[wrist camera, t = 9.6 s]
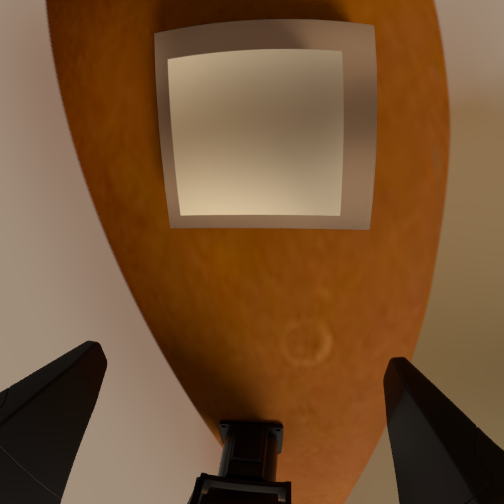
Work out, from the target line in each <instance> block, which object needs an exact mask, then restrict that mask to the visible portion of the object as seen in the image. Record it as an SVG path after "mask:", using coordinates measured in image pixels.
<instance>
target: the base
mask: <svg viewBox="0 0 504 504" xmlns="http://www.w3.org/2000/svg"><path fill="white" fill-rule="evenodd" d="M154 39H155V72H156V91H157V107H158V121H159V133H160V144H161V155H162V164H163V173H164V182H165V190H166V198H167V206H168V214H169V221H170V228H310V229H360V230H370V221H371V211H372V201H373V190H374V176H375V160H376V138H377V68H376V47H375V32H374V25H368V24H360V23H351V22H341V21H329V20H311V19H262V20H244V21H231V22H221V23H212V24H205V25H197V26H191V27H185V28H179V29H173V30H168V31H163V32H159V33H154ZM260 49H314V50H333V51H342V59H343V93H344V138H343V173H342V194H341V211H340V216H323V215H186V216H181V215H180V207H179V199H178V190H177V181H176V171H175V161H174V150H173V139H172V127H171V113H170V98H169V80H168V59H173V58H179V57H185V56H192V55H200V54H208V53H217V52H228V51H241V50H260Z"/></svg>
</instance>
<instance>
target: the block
mask: <svg viewBox="0 0 504 504" xmlns="http://www.w3.org/2000/svg"><path fill="white" fill-rule="evenodd" d="M168 80H169V98H170V113H171V127H172V139H173V150H174V161H175V171H176V181H177V190H178V199H179V207H180V215H181V216H186V215H323V216H340V211H341V194H342V173H343V138H344V93H343V59H342V51H333V50H314V49H260V50H241V51H228V52H217V53H208V54H200V55H192V56H185V57H179V58H173V59H168Z"/></svg>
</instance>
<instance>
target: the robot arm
mask: <svg viewBox="0 0 504 504" xmlns="http://www.w3.org/2000/svg"><path fill="white" fill-rule="evenodd" d="M106 368H107V359H106V357H105V354H104V352H103V350H102V347H101V345H100V344H99V343H98V342H94V341H86V342H84V343H83V344H81V345H79V346H78V347H76V348H74V349H73V350H71V351H69V352H68V353H66V354H64V355H62V356H61V357H59V358H57V359H56V360H54V361H52V362H51V363H49V364H47V365H46V366H44V367H42V368H40V369H39V370H37V371H35V372H34V373H32V374H30V375H29V376H27V377H25V378H24V379H22V380H20V381H19V382H17V383H15V384H14V385H12V386H10V388H7V389H5V390H4V391H2V392H0V504H60V503H61V499H62V496H63V493H64V490H65V487H66V484H67V480H68V477H69V474H70V472H71V468H72V466H73V462H74V460H75V457H76V454H77V452H78V449H79V446H80V443H81V441H82V438H83V435H84V433H85V430H86V428H87V425H88V422H89V420H90V417H91V414H92V412H93V410H94V407H95V404H96V401H97V398H98V395H99V391H100V388H101V385H102V381H103V378H104V375H105V371H106ZM383 384H384V394H385V405H386V417H387V427H388V433H389V439H390V444H391V449H392V455H393V461H394V467H395V474H396V480H397V488H398V494H399V503H400V504H504V450H502V449H501V448H500V447H499V446H498V445H496V444H495V443H494V442H493V441H492V440H491V439H490V438H489V437H488V436H487V435H486V434H485V433H484V432H483V431H482V430H481V429H480V428H479V427H477V428H476V425H475V424H474V423H473V422H472V421H471V420H470V419H469V418H468V417H467V416H466V415H465V414H464V413H463V412H462V411H461V410H460V409H459V408H458V407H457V406H456V405H455V404H454V403H453V402H452V401H451V400H450V399H448V398H447V397H446V396H445V395H444V394H443V393H442V392H441V391H440V390H439V389H438V388H437V387H436V386H435V385H434V384H433V383H432V382H430V380H428V379H427V378H426V377H425V376H424V375H423V374H422V373H421V372H420V371H419V370H418V369H417V368H416V367H415V366H414V365H412V364H411V363H410V362H409V361H408V360H407V359H406V358H405V357H393V358H391V359H390V361H389V364H388V367H387V369H386V372H385V375H384V380H383ZM219 429H220V433H221V437H222V441H223V445H224V446H223V452H222V457H221V462H220V467H219V472H218V476H215V475H208V474H207V473H201V476H200V477H197V478H196V483H195V487H194V490H193V493H192V495H191V497H190V499H189V501H188V503H187V504H291V482H290V481H285V482H276V470H277V456H278V454H280V453H281V450H282V439H283V426H282V425H279V424H256V423H241V422H229V421H220V423H219ZM278 499H280V501H278Z"/></svg>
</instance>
